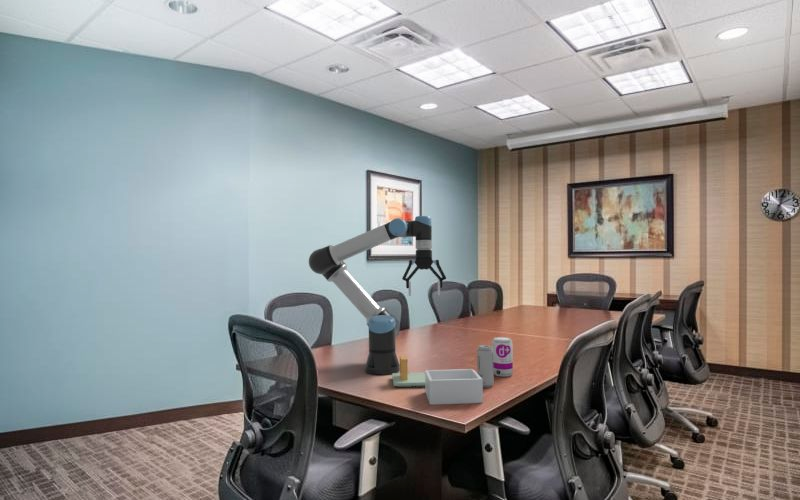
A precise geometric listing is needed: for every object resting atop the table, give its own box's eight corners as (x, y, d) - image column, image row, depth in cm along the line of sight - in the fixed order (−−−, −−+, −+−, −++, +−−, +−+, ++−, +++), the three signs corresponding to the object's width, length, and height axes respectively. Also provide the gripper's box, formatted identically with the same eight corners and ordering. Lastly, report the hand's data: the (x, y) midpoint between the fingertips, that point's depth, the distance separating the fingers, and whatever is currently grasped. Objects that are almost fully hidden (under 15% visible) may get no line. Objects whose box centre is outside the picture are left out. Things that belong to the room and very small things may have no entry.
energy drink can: (476, 383, 176) (475, 345, 177) (491, 383, 177) (490, 344, 177) (479, 388, 170) (479, 348, 171) (495, 387, 171) (495, 347, 171)
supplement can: (513, 377, 184) (512, 340, 185) (492, 376, 186) (492, 340, 186) (512, 372, 192) (511, 337, 193) (492, 371, 194) (492, 336, 194)
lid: (393, 388, 171) (393, 362, 171) (392, 378, 186) (391, 353, 186) (442, 387, 172) (442, 360, 172) (437, 376, 187) (436, 352, 187)
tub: (430, 404, 152) (429, 380, 152) (425, 392, 166) (424, 370, 166) (482, 402, 153) (482, 379, 153) (473, 390, 167) (473, 368, 167)
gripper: (397, 249, 206) (397, 296, 205) (451, 249, 207) (452, 295, 207) (396, 249, 213) (397, 295, 213) (449, 249, 214) (449, 294, 214)
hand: (424, 295), depth 210 cm, fingers open, 13 cm apart
